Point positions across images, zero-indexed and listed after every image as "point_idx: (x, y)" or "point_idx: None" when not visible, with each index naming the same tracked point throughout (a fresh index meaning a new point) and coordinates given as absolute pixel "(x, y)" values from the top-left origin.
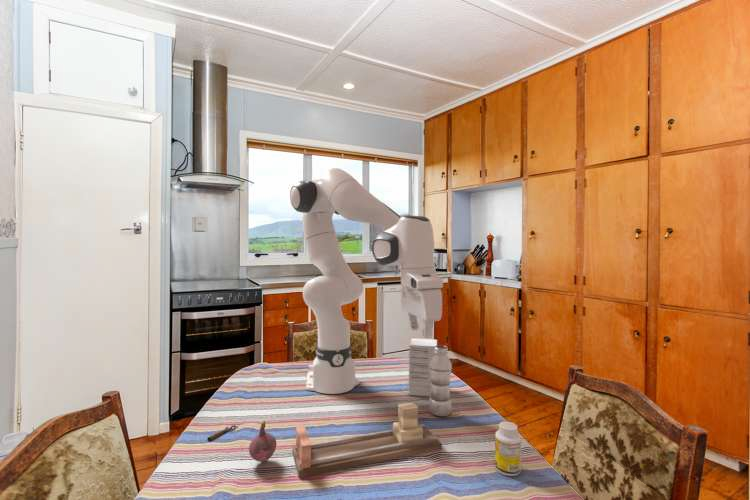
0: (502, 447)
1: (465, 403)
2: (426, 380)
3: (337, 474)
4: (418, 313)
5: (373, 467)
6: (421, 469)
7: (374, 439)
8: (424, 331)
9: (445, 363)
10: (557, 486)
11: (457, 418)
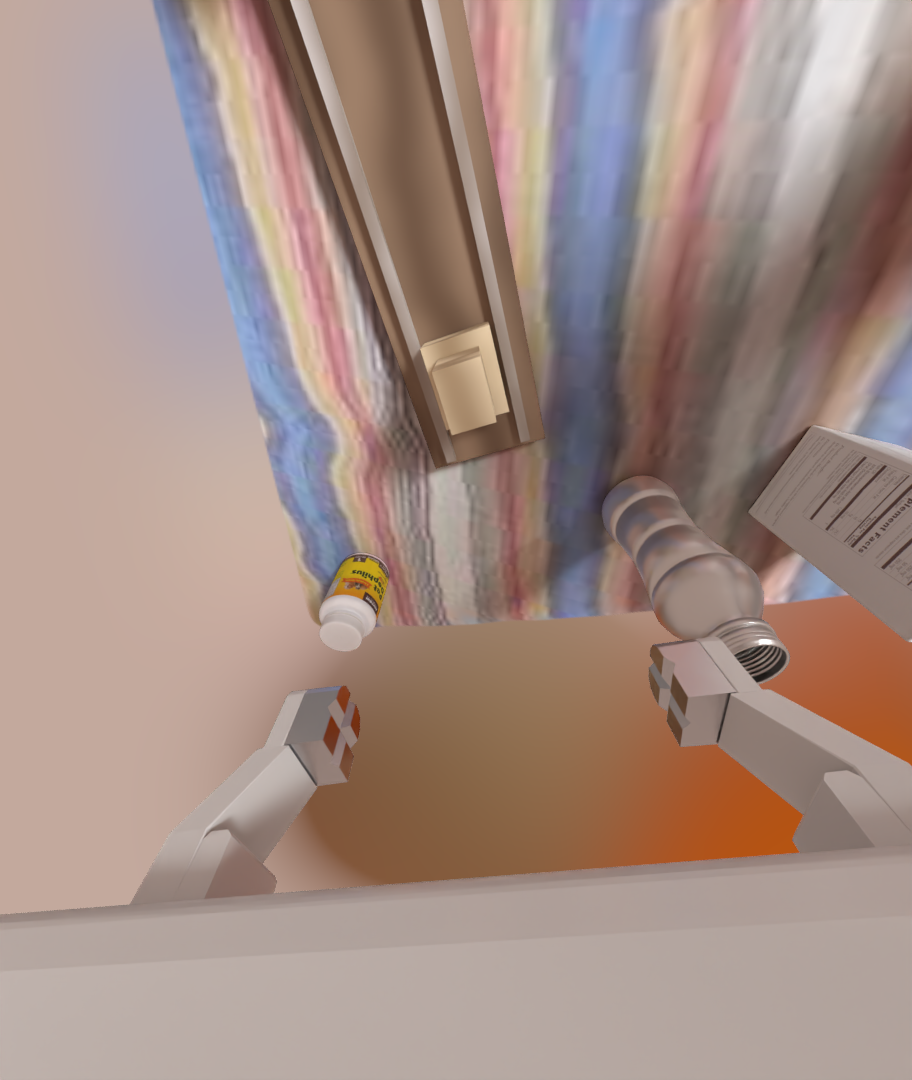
0: (329, 592)
1: None
2: (807, 511)
3: (270, 62)
4: (181, 1005)
5: (333, 232)
6: (343, 391)
7: (461, 240)
8: (268, 739)
9: (670, 622)
10: None
11: (592, 537)
